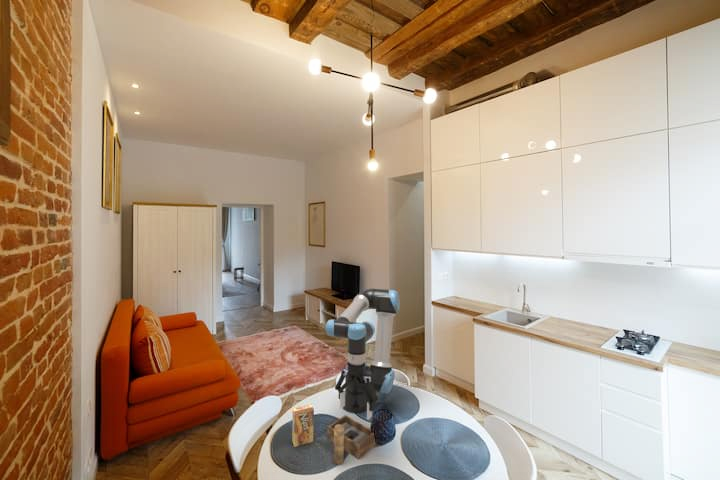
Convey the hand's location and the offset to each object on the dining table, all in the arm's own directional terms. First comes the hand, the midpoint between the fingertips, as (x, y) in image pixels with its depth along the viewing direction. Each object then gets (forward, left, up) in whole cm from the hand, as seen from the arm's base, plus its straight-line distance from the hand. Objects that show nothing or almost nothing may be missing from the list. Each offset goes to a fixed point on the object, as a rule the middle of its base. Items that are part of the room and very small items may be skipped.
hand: (355, 412), depth 125 cm
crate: (-8, +6, -19) cm, 22 cm away
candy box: (-24, -9, -19) cm, 32 cm away
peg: (-4, -6, -19) cm, 20 cm away
